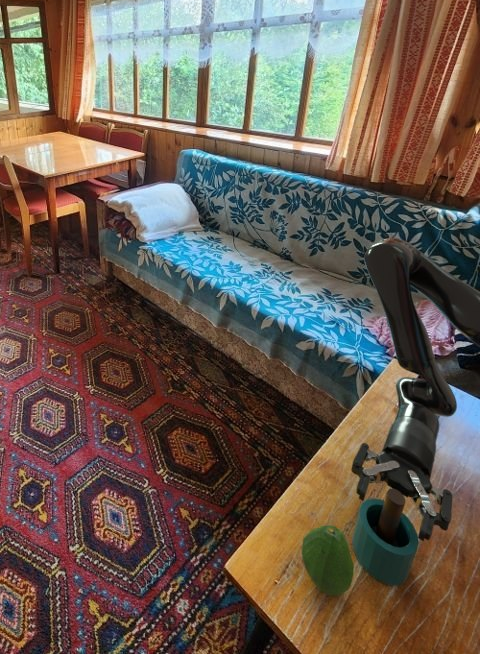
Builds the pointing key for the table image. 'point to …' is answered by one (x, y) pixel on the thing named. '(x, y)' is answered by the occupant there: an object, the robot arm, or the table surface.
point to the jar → (384, 545)
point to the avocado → (328, 560)
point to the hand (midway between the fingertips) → (390, 516)
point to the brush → (390, 517)
